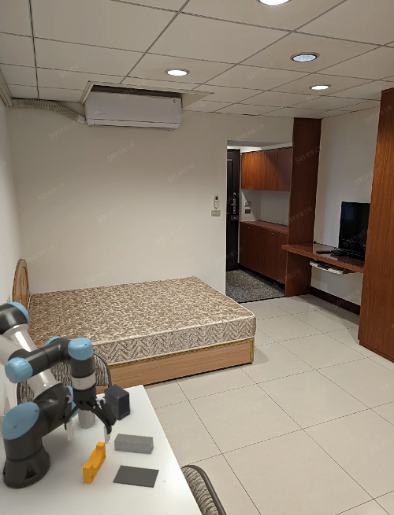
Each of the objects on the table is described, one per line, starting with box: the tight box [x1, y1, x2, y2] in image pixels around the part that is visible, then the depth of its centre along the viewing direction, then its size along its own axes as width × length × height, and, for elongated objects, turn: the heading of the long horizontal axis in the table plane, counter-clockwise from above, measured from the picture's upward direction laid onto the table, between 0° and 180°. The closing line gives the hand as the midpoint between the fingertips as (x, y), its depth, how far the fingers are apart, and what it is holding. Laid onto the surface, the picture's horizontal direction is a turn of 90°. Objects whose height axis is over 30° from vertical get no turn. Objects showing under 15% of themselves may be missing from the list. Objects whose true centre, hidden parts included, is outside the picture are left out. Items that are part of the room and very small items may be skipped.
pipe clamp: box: [81, 441, 107, 485], centre depth 123 cm, size 12×4×6 cm, turn 169°
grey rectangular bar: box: [113, 433, 154, 455], centre depth 133 cm, size 14×4×4 cm, turn 81°
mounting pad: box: [112, 464, 160, 489], centre depth 121 cm, size 14×7×1 cm, turn 81°
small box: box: [103, 384, 131, 421], centre depth 153 cm, size 11×6×10 cm, turn 49°
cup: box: [77, 406, 96, 430], centre depth 146 cm, size 8×8×12 cm
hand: (89, 439), depth 121 cm, fingers open, 13 cm apart
